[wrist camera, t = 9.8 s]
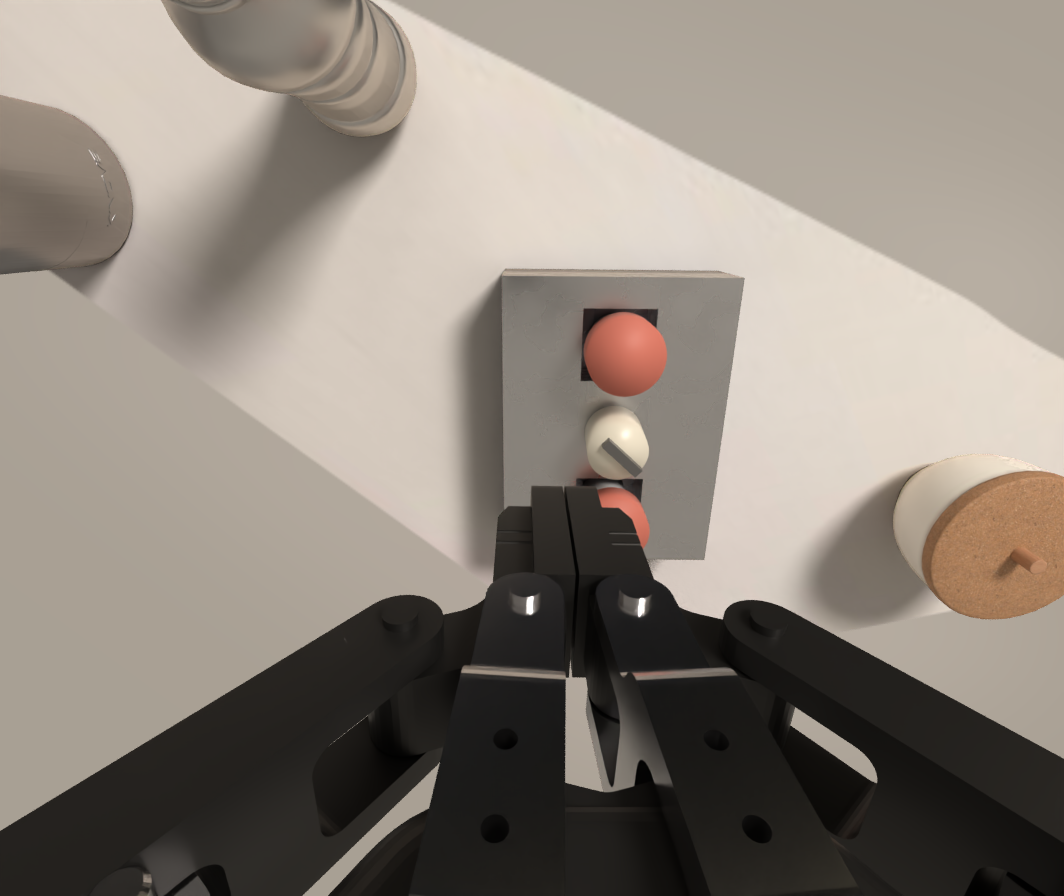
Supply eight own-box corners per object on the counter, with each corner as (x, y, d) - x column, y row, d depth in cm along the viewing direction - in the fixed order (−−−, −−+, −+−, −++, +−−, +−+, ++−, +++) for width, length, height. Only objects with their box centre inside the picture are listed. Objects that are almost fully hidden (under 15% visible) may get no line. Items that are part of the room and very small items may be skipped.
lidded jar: (893, 425, 41) (989, 480, 33) (1035, 440, 42) (1167, 498, 33) (847, 551, 45) (922, 629, 36) (976, 563, 46) (1081, 644, 37)
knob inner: (577, 370, 37) (584, 396, 32) (580, 302, 36) (588, 317, 30) (643, 370, 37) (662, 397, 32) (649, 302, 36) (670, 318, 30)
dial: (572, 432, 36) (575, 456, 33) (614, 394, 35) (620, 415, 32) (611, 467, 37) (617, 494, 34) (653, 431, 36) (663, 455, 33)
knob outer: (571, 517, 42) (577, 563, 36) (573, 462, 40) (580, 501, 34) (631, 517, 42) (646, 563, 36) (636, 462, 40) (652, 501, 34)
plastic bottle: (299, 19, 32) (-19, -256, 14) (418, 10, 32) (257, -280, 13) (322, 146, 35) (77, 60, 16) (432, 138, 34) (313, 43, 16)
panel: (507, 522, 44) (504, 557, 40) (505, 268, 37) (501, 275, 33) (686, 524, 44) (704, 559, 40) (718, 270, 37) (744, 277, 33)
